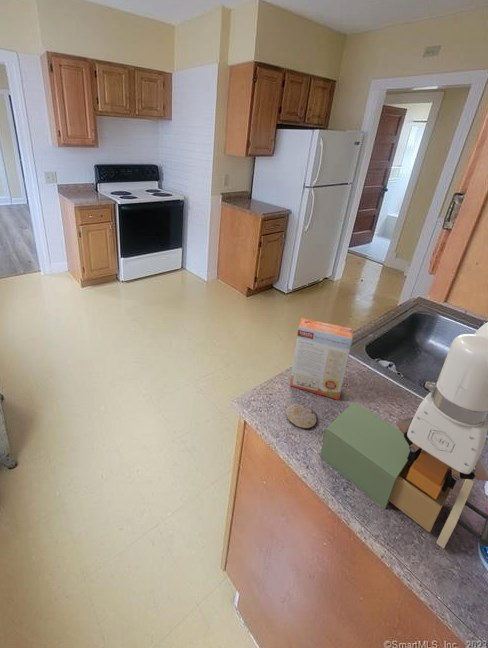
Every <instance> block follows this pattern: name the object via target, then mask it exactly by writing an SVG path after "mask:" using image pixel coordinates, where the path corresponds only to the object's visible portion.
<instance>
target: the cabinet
mask: <svg viewBox="0 0 488 648" xmlns="http://www.w3.org/2000/svg"><path fill="white" fill-rule="evenodd" d="M409 452H410V450H409V445H408V443H407V441H406V439H405V438H404V434H403V433H402V432H401V431H400V429H399V428H398V427H397V426H395V425H393V424H391V423H390V422H388V421H386V420H385V419H383V418H382V417H380V416H378V415H377V414H375V413H374V412H372V411H370V410H369V409H367V408H365V407H363V405H361V404H359V403H357V402H355V401H353V402H352V403H351V404H350V405H348V406H347V408H346V409H345V410H344V411H343V412H341V413H340V414H339V415H338V416H337V417H336V418H335V419H334V420H333V421H332V422H331V423H330V424H329V425H328V426H327V427H326V429H325V432H324V438H323V441H322V446H321V450H320V454H319V458H320V459H322V460H323V461H324V462H326V463H327V464H328V466H330V467H332V469H334V470H335V471H337V472H338V473H339V474H340V475H341V476H343V477H344V478H345V479H346V480H347V481H349V482H350V483H352V485H353V486H355V487H357V489H359V490H360V491H361V492H362V493H364V494H365V495H366V496H368V497H369V498H370V499H371V500H373V501H374V502H375V503H376V504H378V505H379V506H380V507H381V508H383V509H384V510H386V509H387V507H388V505H389V504H390V503H391V502H390V501H389V499H390V496H391V493H392V490H393V488H394V485H395V482H396V479H397V478H398V476H399V475H400V473H401V472H402V470H403V469H404V467H405V466H406V464H407V463H408V461H409V460H408V459H407V458H408V455H409Z"/></svg>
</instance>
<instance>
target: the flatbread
mask: <svg viewBox="0 0 488 648" xmlns="http://www.w3.org/2000/svg"><path fill="white" fill-rule="evenodd" d="M285 416H286V417H287V419H288V421H290V422H291V423H292V424H293V425H295V426H297V427H299V428H301V429H310V428H312V427H314V426H315V425H316V424H317V415H316V414H315V412H314V411H313V410H312V409H311V408H309V407H307V406H305V405H303V404H300V403H290V404H289V405H288V406H287V408H286V410H285Z"/></svg>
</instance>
